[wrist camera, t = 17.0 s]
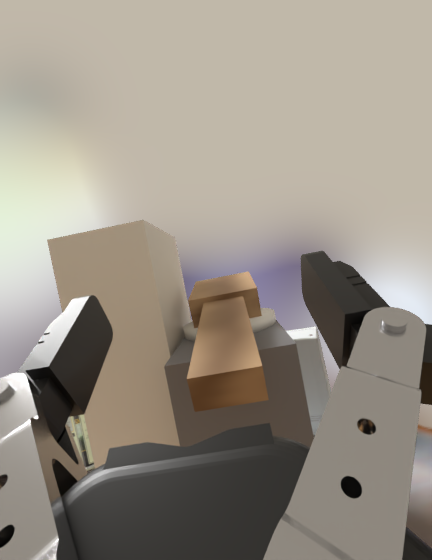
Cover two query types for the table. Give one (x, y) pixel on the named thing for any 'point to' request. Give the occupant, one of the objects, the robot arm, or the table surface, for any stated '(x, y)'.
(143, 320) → the tall plinth
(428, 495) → the table surface
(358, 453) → the robot arm
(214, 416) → the gray box
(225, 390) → the oak block
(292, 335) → the skincare box
